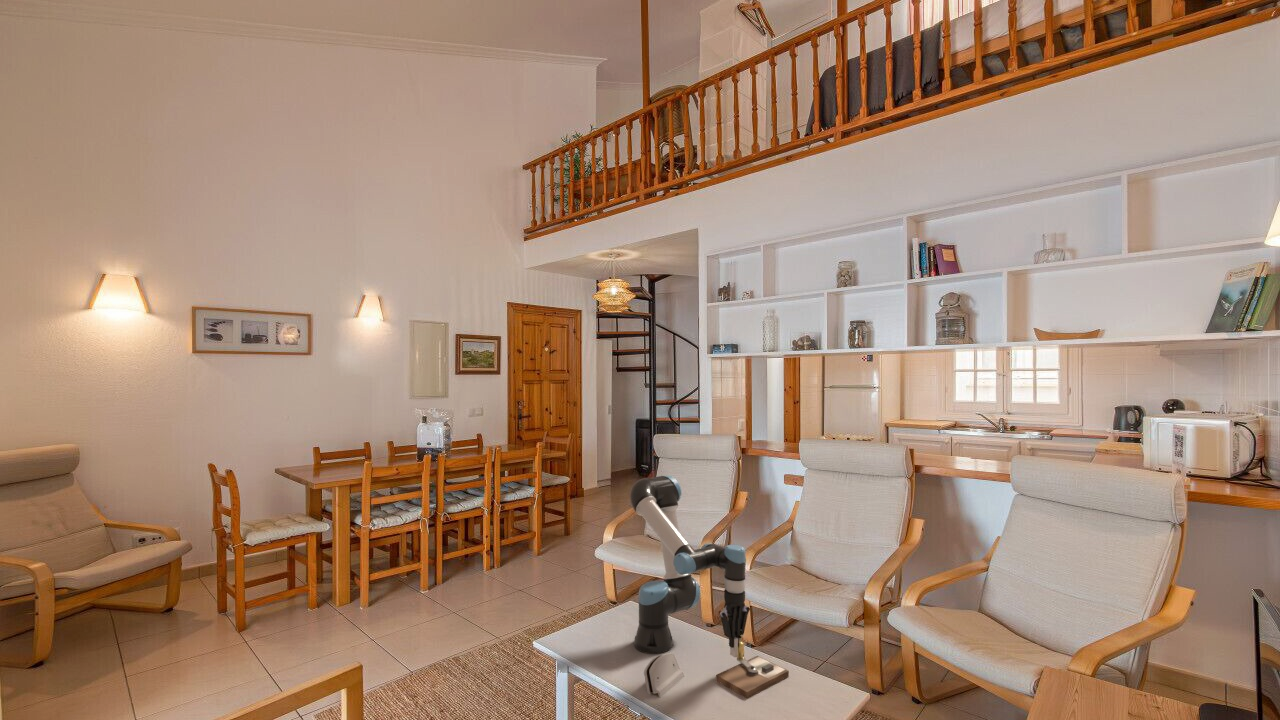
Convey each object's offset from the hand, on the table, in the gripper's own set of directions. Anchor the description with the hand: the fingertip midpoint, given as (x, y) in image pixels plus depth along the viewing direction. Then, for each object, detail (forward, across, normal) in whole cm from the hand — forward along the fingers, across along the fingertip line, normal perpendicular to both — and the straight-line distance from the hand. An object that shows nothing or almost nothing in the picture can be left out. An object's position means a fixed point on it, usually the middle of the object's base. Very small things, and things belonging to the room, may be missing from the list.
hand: (733, 655), depth 209 cm
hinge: (+6, +27, -4) cm, 28 cm away
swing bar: (+2, -2, +4) cm, 5 cm away
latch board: (+5, -1, +9) cm, 10 cm away
